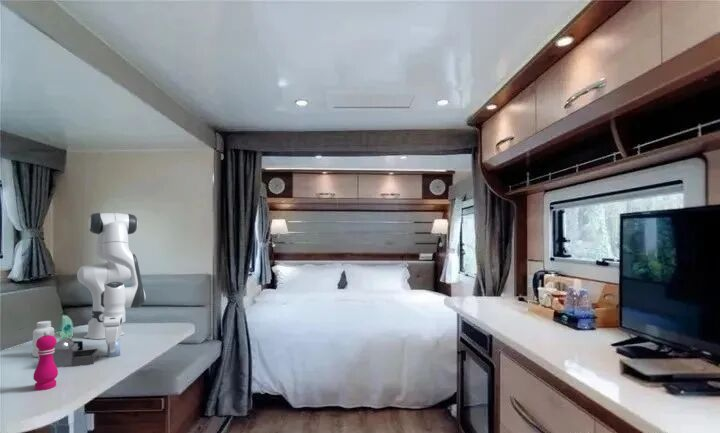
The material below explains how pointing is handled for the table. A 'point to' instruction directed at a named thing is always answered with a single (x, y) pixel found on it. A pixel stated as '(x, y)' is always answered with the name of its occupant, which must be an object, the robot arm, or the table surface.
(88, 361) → the dark grey piece
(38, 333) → the pill bottle
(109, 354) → the light blue bottle
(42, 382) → the pepper mill
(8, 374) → the table surface
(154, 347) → the table surface
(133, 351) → the table surface
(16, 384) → the table surface
